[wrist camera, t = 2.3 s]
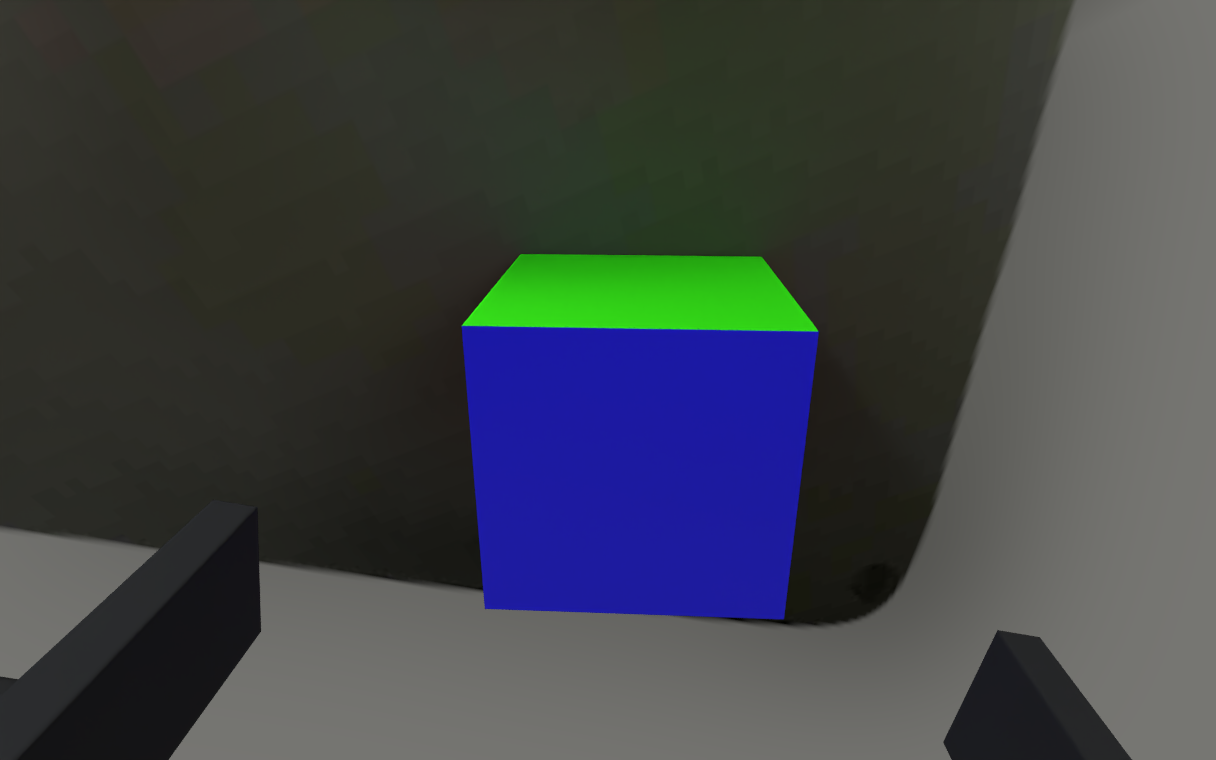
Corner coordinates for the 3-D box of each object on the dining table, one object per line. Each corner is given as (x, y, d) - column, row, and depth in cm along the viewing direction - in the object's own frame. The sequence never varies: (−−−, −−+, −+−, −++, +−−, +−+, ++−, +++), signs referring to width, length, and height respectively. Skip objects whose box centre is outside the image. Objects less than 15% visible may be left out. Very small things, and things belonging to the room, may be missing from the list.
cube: (743, 470, 26) (783, 619, 18) (530, 464, 26) (485, 608, 19) (761, 256, 23) (818, 331, 15) (520, 253, 23) (461, 325, 16)
